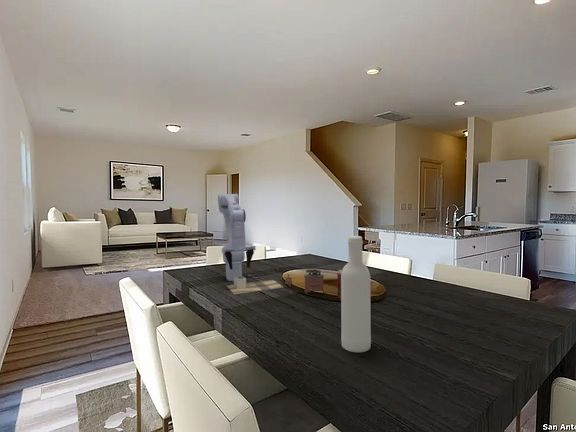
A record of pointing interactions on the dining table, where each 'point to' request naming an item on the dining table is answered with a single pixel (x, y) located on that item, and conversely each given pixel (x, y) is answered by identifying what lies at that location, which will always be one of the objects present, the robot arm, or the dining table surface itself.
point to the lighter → (313, 280)
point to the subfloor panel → (256, 286)
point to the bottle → (355, 300)
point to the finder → (240, 282)
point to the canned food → (339, 283)
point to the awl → (288, 280)
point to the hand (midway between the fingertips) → (239, 268)
